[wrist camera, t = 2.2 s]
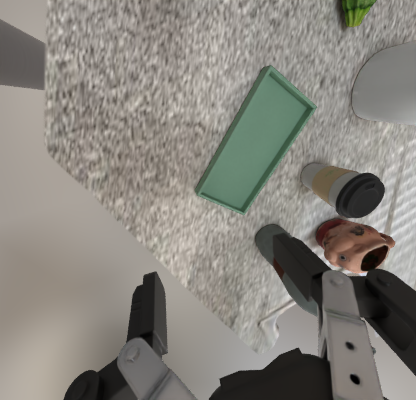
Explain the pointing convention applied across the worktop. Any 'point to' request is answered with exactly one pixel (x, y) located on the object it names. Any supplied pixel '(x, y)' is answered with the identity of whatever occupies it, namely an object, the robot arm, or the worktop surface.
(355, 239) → the decorative planter
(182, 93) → the worktop surface
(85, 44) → the worktop surface
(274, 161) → the tray
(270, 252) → the vodka
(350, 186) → the coffee cup
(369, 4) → the vegetable
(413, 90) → the utensil holder
